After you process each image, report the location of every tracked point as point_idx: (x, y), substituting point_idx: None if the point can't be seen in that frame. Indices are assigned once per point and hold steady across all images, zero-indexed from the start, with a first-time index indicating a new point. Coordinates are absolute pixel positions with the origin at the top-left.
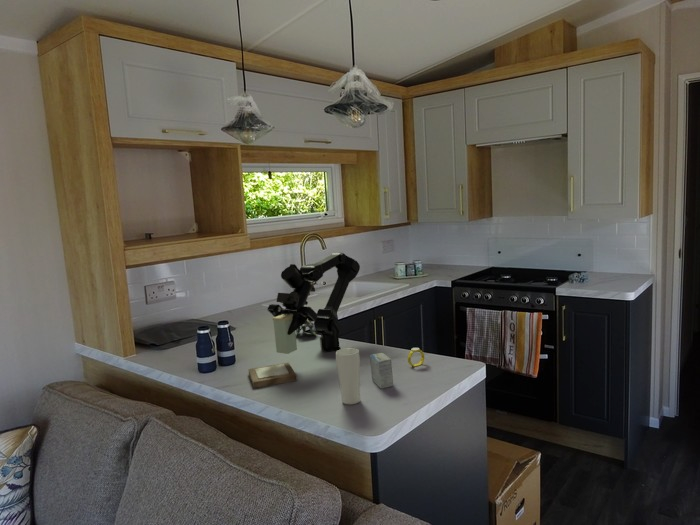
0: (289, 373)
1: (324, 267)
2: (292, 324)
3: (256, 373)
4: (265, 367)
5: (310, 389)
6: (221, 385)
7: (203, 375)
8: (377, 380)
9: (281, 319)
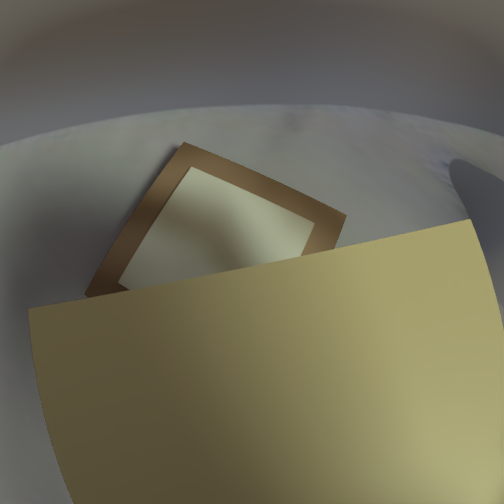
0: (121, 288)
1: None
2: None
3: (259, 198)
4: None
5: (9, 266)
6: (311, 120)
7: (434, 149)
8: None
9: (146, 297)
